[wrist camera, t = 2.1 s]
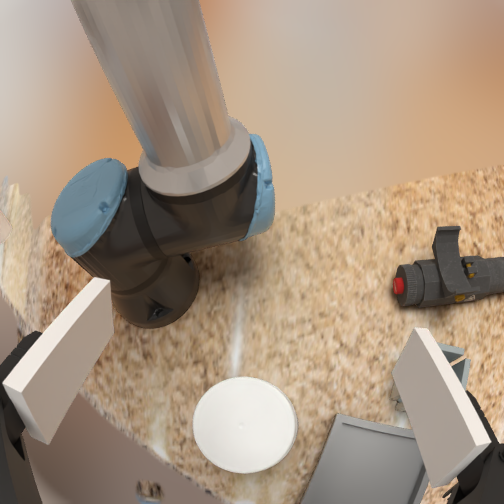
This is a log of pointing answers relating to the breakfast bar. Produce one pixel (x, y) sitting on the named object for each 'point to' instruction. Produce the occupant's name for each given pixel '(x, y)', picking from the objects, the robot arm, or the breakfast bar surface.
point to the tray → (367, 465)
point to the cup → (459, 368)
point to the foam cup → (4, 228)
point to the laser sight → (448, 275)
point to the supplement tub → (245, 425)
